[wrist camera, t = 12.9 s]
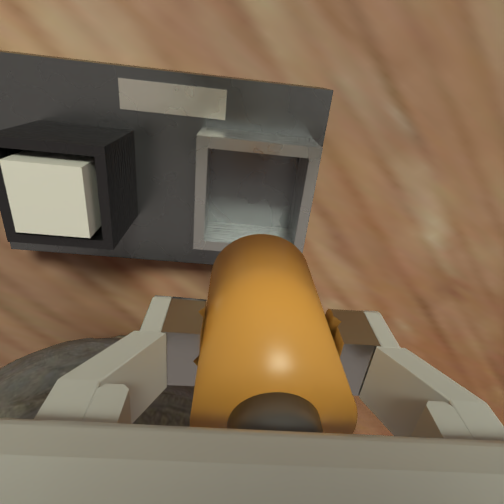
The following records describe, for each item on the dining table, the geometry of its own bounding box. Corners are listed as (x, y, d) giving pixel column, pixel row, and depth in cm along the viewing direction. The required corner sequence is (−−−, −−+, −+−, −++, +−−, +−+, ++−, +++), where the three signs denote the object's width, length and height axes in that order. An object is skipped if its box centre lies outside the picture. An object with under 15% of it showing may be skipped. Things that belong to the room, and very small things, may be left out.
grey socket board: (-2, 50, 21) (-126, 40, 14) (322, 87, 23) (359, 96, 15) (34, 230, 27) (-41, 289, 20) (293, 252, 28) (310, 314, 21)
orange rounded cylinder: (213, 229, 12) (183, 402, 6) (317, 238, 12) (396, 412, 6) (208, 314, 14) (181, 520, 7) (300, 320, 14) (348, 524, 8)
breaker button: (52, 139, 20) (-1, 159, 16) (116, 146, 20) (81, 167, 16) (61, 198, 22) (15, 232, 17) (120, 204, 22) (90, 238, 18)
